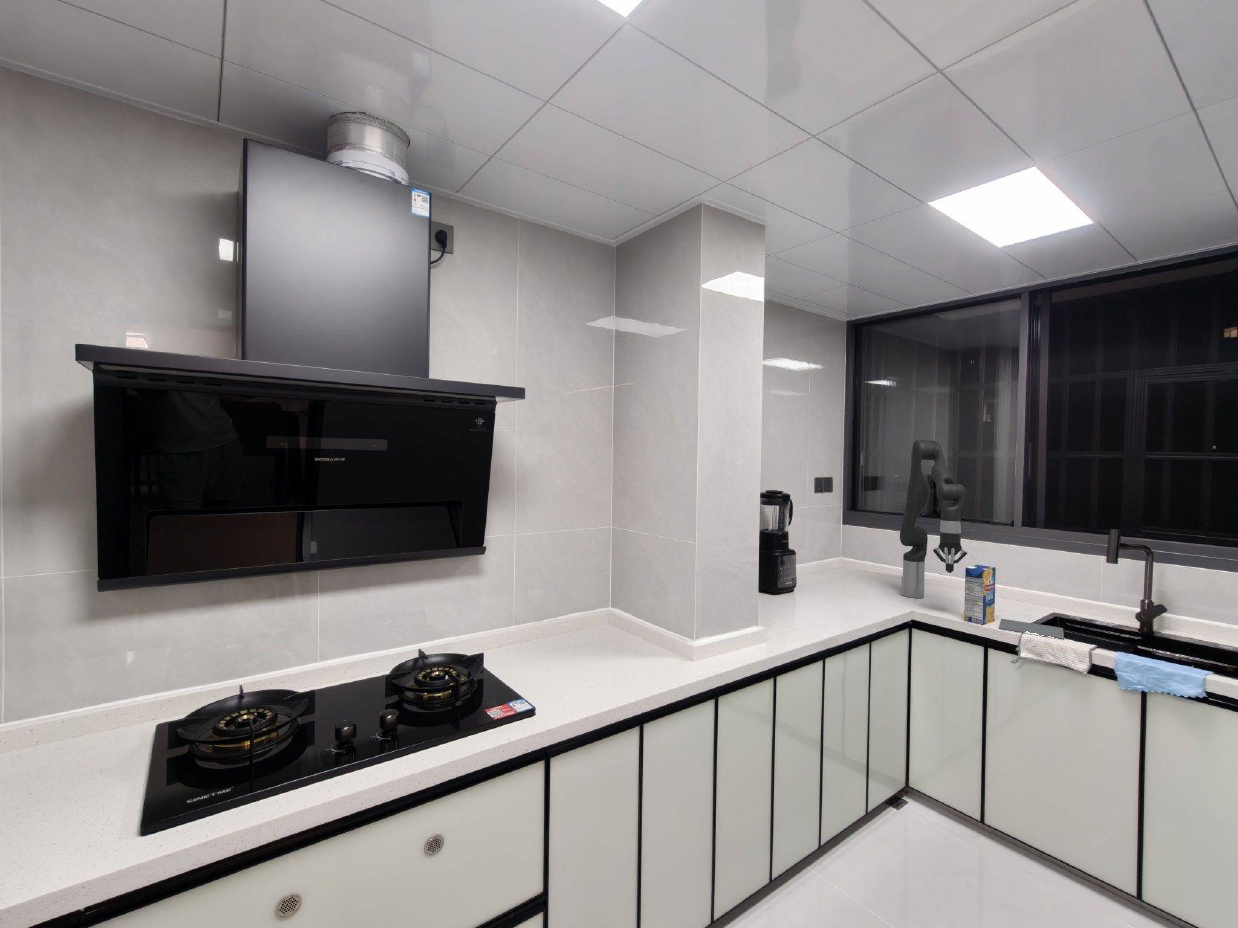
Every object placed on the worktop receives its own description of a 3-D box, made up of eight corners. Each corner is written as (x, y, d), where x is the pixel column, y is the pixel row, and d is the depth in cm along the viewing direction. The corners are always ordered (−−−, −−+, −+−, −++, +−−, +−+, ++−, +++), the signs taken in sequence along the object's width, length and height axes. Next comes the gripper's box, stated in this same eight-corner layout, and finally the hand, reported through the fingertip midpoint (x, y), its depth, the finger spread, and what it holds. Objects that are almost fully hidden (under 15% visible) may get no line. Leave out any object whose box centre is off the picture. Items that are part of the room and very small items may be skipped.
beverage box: (964, 620, 229) (965, 567, 228) (976, 616, 235) (977, 564, 235) (982, 625, 223) (984, 570, 223) (994, 620, 230) (995, 567, 229)
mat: (998, 628, 219) (998, 627, 219) (1001, 619, 231) (1001, 618, 231) (1064, 639, 206) (1064, 638, 206) (1062, 629, 219) (1062, 628, 219)
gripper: (931, 530, 236) (930, 571, 236) (967, 533, 228) (967, 576, 228) (933, 529, 242) (933, 569, 242) (969, 531, 234) (969, 573, 234)
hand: (949, 572), depth 235 cm, fingers closed
